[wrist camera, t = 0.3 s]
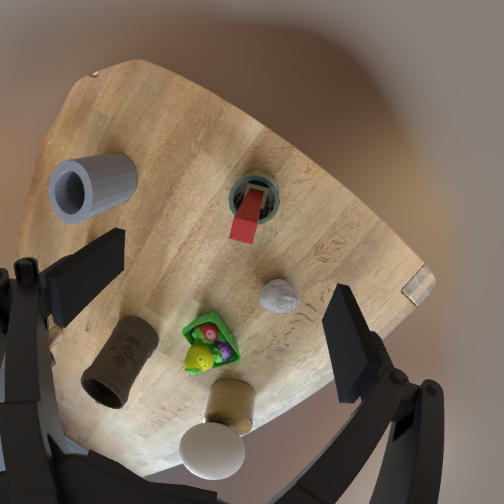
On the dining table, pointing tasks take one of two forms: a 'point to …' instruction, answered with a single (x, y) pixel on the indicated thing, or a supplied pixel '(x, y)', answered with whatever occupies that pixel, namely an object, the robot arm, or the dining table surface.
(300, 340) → the dining table surface
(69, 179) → the vase
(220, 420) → the lamp
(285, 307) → the grey wrinkled ball
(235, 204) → the pen pot
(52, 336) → the decorative mushroom
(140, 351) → the dark grey hollow cylinder
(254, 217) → the paint brush
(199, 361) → the fruit basket
